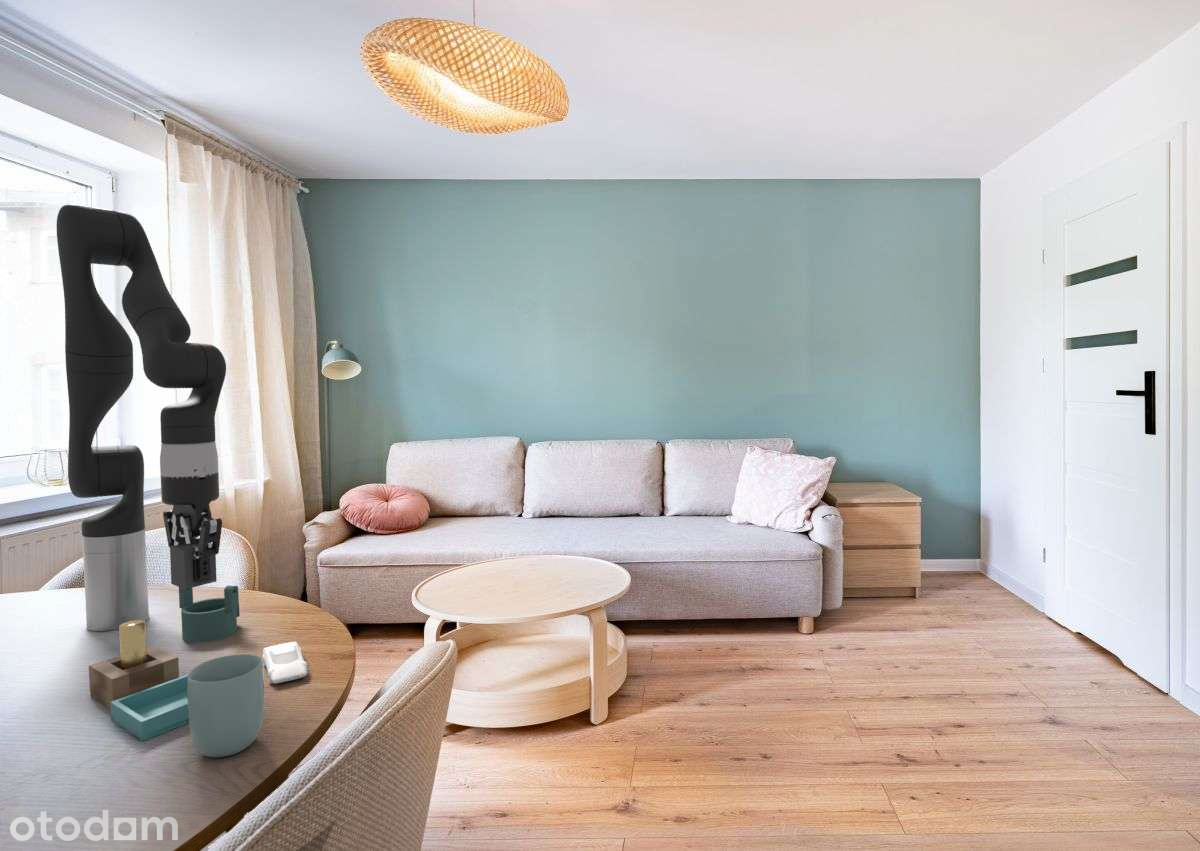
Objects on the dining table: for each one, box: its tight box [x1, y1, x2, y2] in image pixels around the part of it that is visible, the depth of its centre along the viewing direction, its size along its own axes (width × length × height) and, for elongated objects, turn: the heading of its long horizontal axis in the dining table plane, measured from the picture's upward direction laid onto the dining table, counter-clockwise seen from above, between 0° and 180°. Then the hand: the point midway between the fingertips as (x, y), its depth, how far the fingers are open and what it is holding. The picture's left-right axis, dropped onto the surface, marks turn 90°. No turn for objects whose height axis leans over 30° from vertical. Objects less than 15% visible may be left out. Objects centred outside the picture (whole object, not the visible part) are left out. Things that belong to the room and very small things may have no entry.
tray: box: [110, 673, 189, 742], centre depth 83 cm, size 9×12×2 cm
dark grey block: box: [169, 542, 218, 589], centre depth 97 cm, size 4×4×6 cm
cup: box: [187, 653, 265, 758], centre depth 74 cm, size 8×8×10 cm
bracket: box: [178, 585, 240, 644], centre depth 110 cm, size 9×9×9 cm
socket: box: [88, 644, 180, 710], centre depth 88 cm, size 8×8×4 cm
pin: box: [118, 620, 147, 670], centre depth 88 cm, size 3×3×10 cm
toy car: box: [262, 641, 308, 685], centre depth 95 cm, size 6×12×3 cm, turn 34°
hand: (194, 578), depth 97 cm, fingers closed on dark grey block, 4 cm apart
